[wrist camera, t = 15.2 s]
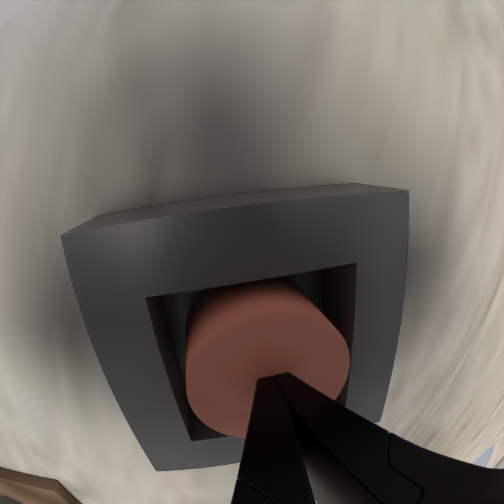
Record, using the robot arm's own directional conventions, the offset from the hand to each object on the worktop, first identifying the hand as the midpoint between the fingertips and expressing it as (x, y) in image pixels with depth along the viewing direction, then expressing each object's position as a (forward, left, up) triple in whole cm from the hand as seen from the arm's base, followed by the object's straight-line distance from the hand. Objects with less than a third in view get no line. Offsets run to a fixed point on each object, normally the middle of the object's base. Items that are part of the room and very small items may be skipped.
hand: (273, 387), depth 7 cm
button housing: (0, 0, -4) cm, 4 cm away
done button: (0, 0, -3) cm, 3 cm away
